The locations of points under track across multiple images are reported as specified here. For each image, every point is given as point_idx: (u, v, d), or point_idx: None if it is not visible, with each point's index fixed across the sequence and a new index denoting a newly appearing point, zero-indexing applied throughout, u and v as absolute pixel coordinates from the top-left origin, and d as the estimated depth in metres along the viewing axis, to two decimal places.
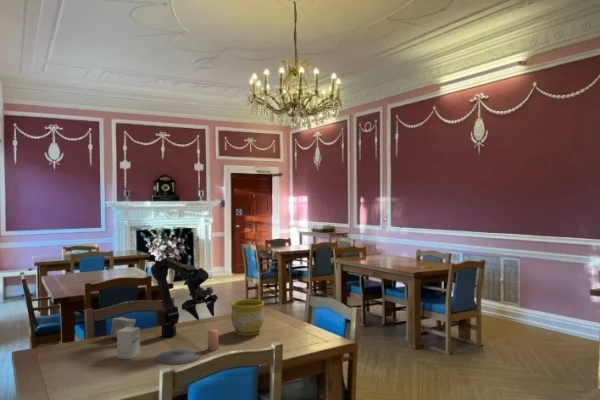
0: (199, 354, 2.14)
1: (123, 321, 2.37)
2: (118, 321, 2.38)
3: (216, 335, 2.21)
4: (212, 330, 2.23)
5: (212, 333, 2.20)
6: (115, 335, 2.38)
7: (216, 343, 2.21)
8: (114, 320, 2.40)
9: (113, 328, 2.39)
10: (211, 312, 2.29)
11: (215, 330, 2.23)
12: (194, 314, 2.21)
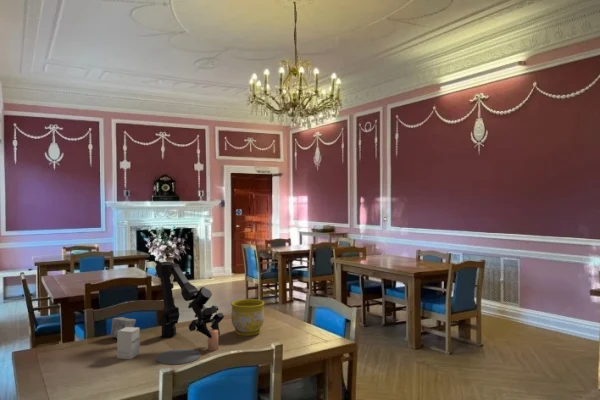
0: (199, 354, 2.14)
1: (123, 321, 2.37)
2: (118, 321, 2.38)
3: (216, 335, 2.21)
4: (212, 330, 2.23)
5: (213, 333, 2.20)
6: (115, 335, 2.38)
7: (216, 343, 2.21)
8: (114, 320, 2.40)
9: (113, 328, 2.39)
10: None
11: (215, 330, 2.23)
12: (206, 332, 2.20)
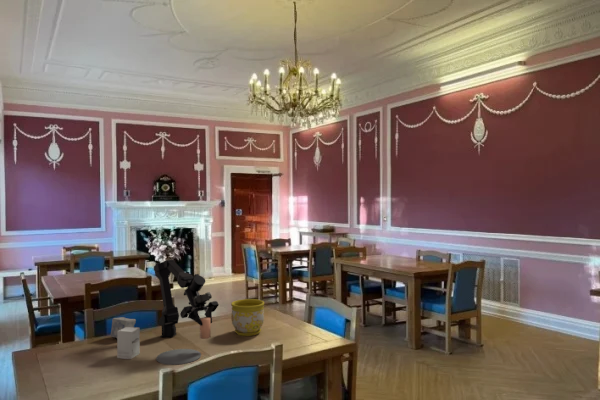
0: (199, 354, 2.14)
1: (123, 321, 2.37)
2: (118, 321, 2.38)
3: (207, 323, 2.17)
4: (204, 318, 2.20)
5: (204, 321, 2.17)
6: (115, 335, 2.38)
7: (208, 331, 2.17)
8: (114, 320, 2.40)
9: (113, 328, 2.39)
10: None
11: (207, 318, 2.19)
12: (197, 320, 2.17)
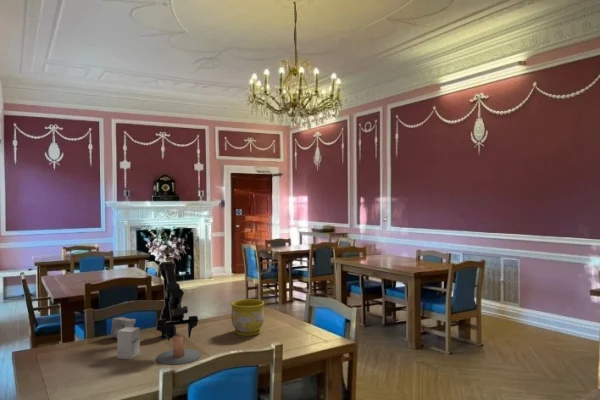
0: (199, 354, 2.14)
1: (123, 321, 2.37)
2: (118, 321, 2.38)
3: (178, 342, 2.10)
4: (178, 336, 2.12)
5: (175, 339, 2.10)
6: (115, 335, 2.38)
7: (179, 350, 2.10)
8: (114, 320, 2.40)
9: (113, 328, 2.39)
10: (188, 334, 2.14)
11: (181, 336, 2.12)
12: (165, 334, 2.10)
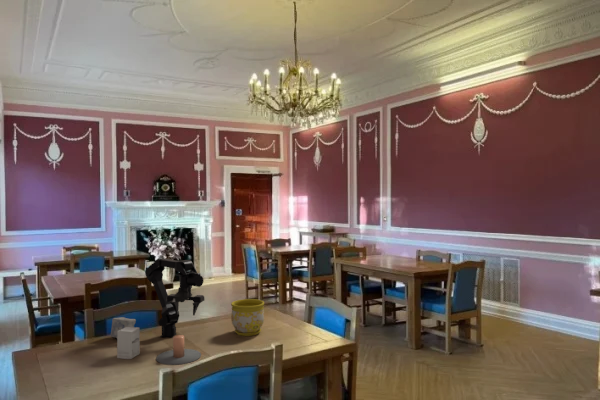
0: (199, 354, 2.14)
1: (123, 321, 2.37)
2: (118, 321, 2.38)
3: (178, 342, 2.10)
4: (178, 336, 2.12)
5: (175, 340, 2.10)
6: (115, 335, 2.38)
7: (179, 350, 2.10)
8: (114, 320, 2.40)
9: (113, 328, 2.39)
10: None
11: (181, 336, 2.12)
12: None
